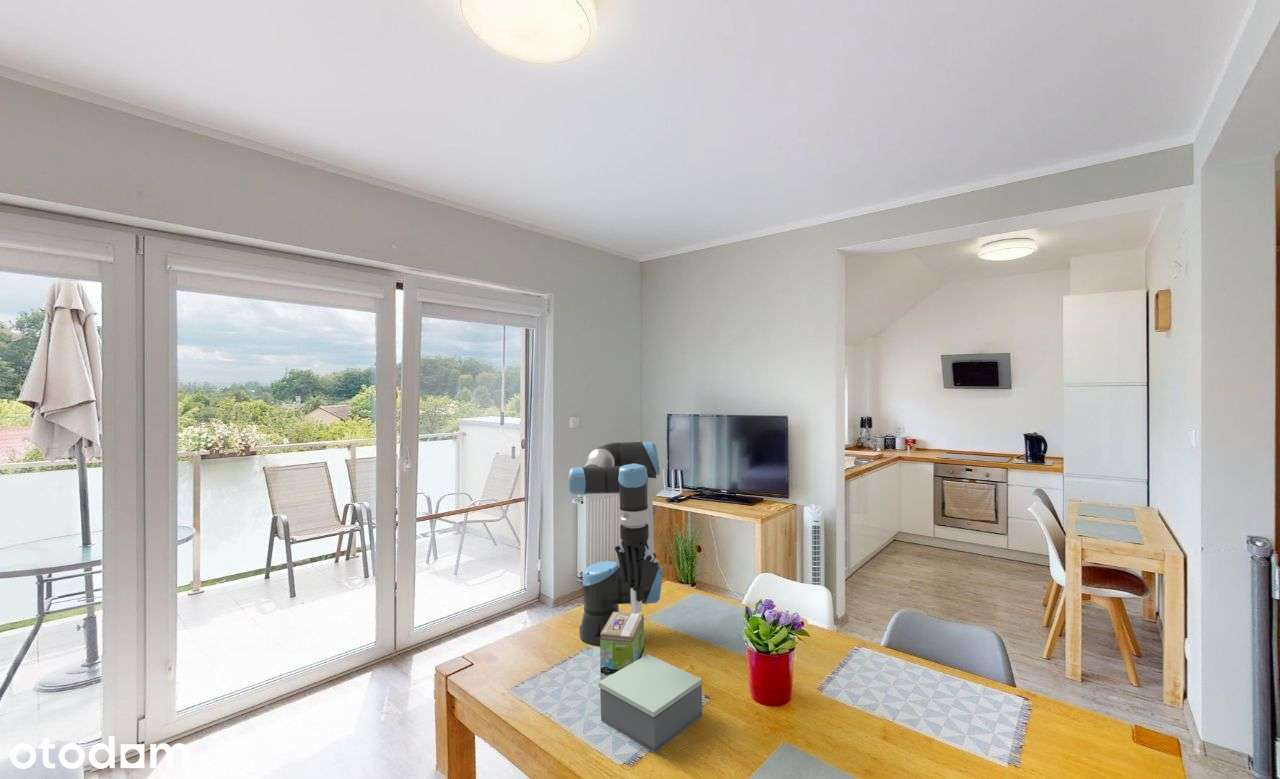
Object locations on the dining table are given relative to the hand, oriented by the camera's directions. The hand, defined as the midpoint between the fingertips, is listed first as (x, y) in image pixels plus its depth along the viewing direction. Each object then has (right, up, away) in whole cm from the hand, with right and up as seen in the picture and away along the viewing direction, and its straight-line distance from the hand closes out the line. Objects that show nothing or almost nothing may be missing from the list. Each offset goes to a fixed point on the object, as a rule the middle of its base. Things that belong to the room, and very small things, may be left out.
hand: (636, 611), depth 140 cm
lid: (+4, -15, -8) cm, 17 cm away
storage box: (+4, -23, -8) cm, 25 cm away
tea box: (-4, -24, +13) cm, 27 cm away
